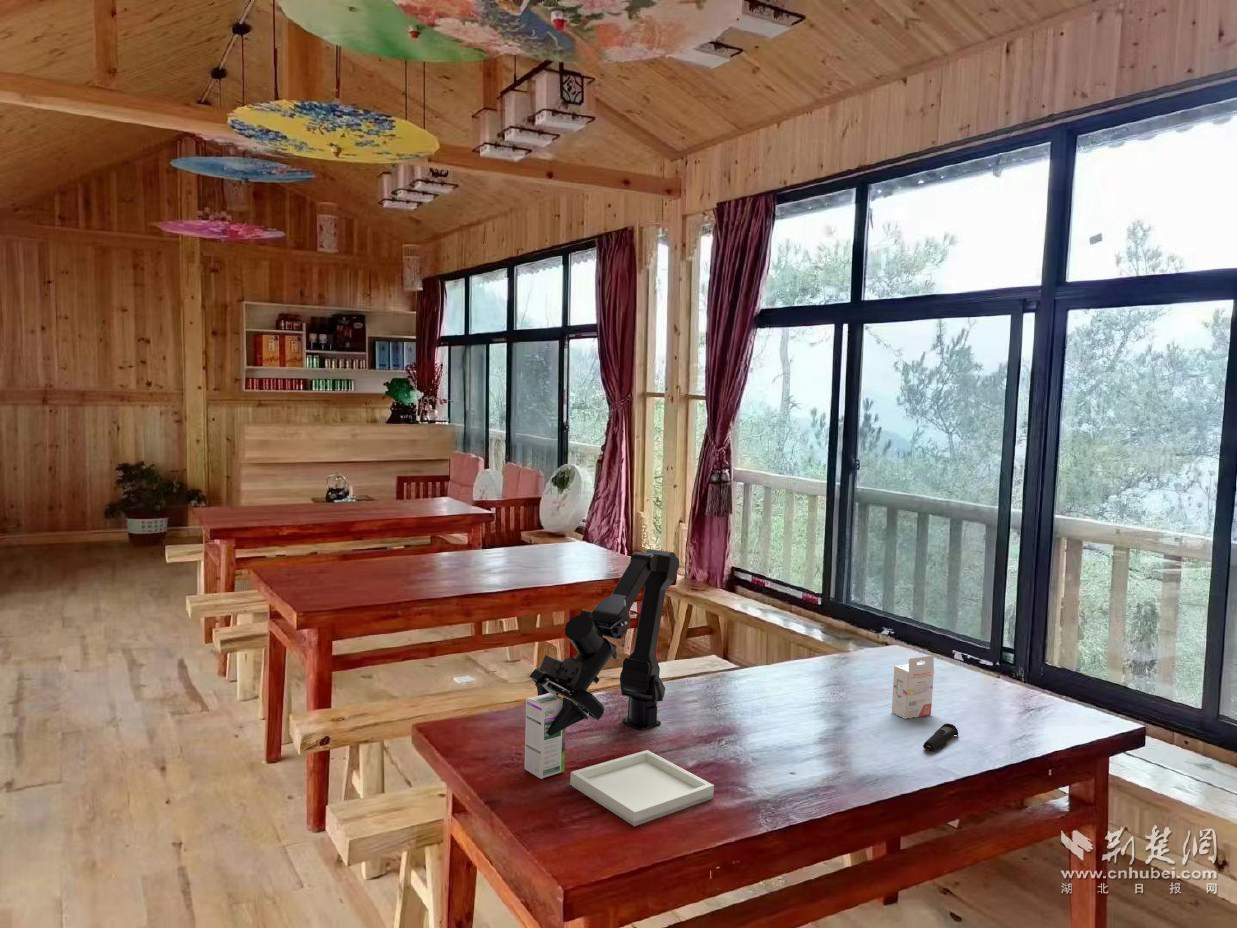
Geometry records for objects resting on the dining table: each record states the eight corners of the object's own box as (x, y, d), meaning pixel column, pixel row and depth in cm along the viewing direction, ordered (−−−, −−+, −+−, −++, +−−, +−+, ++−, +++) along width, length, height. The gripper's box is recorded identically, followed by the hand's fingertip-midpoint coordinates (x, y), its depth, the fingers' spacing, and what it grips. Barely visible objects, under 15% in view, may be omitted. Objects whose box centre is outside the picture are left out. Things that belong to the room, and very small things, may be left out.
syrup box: (541, 779, 166) (543, 705, 165) (523, 768, 171) (525, 696, 169) (564, 772, 170) (567, 699, 169) (546, 761, 174) (549, 690, 173)
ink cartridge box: (915, 708, 216) (920, 649, 215) (931, 715, 211) (936, 655, 210) (890, 712, 212) (894, 653, 211) (905, 719, 207) (909, 659, 206)
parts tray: (570, 784, 165) (570, 771, 165) (646, 761, 177) (647, 749, 177) (634, 826, 150) (635, 812, 150) (713, 798, 162) (713, 785, 162)
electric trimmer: (917, 752, 189) (918, 738, 189) (942, 732, 201) (944, 718, 201) (934, 757, 187) (936, 743, 187) (959, 736, 199) (960, 723, 199)
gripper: (538, 628, 178) (490, 691, 172) (594, 652, 163) (542, 722, 157) (569, 660, 183) (522, 722, 178) (625, 686, 169) (576, 754, 163)
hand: (539, 729), depth 169 cm, fingers closed on syrup box, 6 cm apart
